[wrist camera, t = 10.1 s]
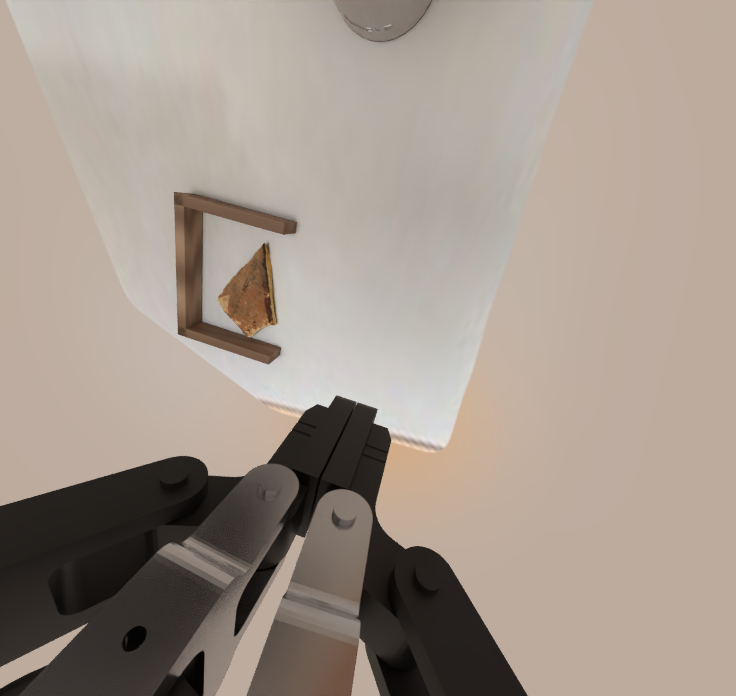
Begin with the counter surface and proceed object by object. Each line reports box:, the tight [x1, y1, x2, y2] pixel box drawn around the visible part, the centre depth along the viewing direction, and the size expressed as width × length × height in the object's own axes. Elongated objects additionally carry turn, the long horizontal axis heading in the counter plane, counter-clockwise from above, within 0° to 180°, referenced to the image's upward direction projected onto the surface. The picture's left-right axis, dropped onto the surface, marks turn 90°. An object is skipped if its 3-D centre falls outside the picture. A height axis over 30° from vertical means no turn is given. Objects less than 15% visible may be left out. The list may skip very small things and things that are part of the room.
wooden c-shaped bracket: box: [174, 192, 297, 364], centre depth 39 cm, size 17×13×3 cm
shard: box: [218, 243, 277, 337], centre depth 40 cm, size 11×8×2 cm
